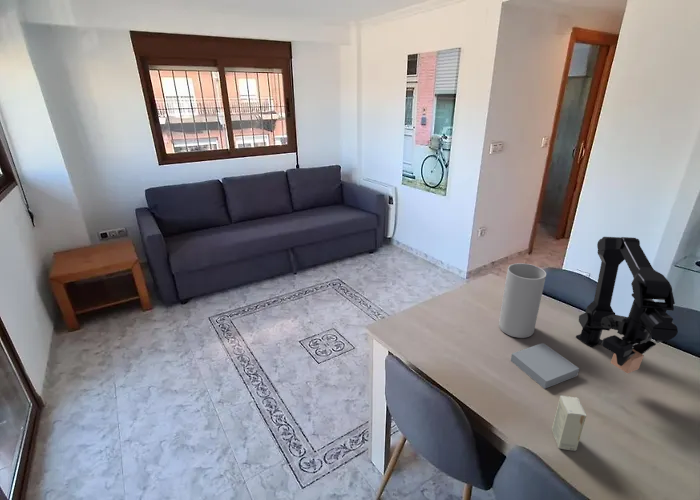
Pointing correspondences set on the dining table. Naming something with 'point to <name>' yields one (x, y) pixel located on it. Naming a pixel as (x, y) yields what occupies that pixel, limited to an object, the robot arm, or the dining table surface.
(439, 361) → the dining table surface
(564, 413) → the skincare box
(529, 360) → the slate base
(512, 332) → the cylinder vase
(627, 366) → the terracotta cube
